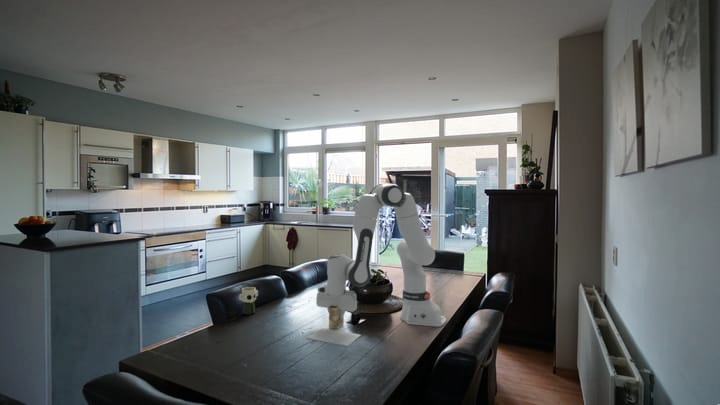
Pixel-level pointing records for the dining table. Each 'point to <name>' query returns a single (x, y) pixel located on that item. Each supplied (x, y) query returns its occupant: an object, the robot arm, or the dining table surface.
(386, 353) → the dining table surface
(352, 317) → the black box
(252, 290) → the character mug
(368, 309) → the dining table surface
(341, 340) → the felt mat
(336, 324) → the oak slab
